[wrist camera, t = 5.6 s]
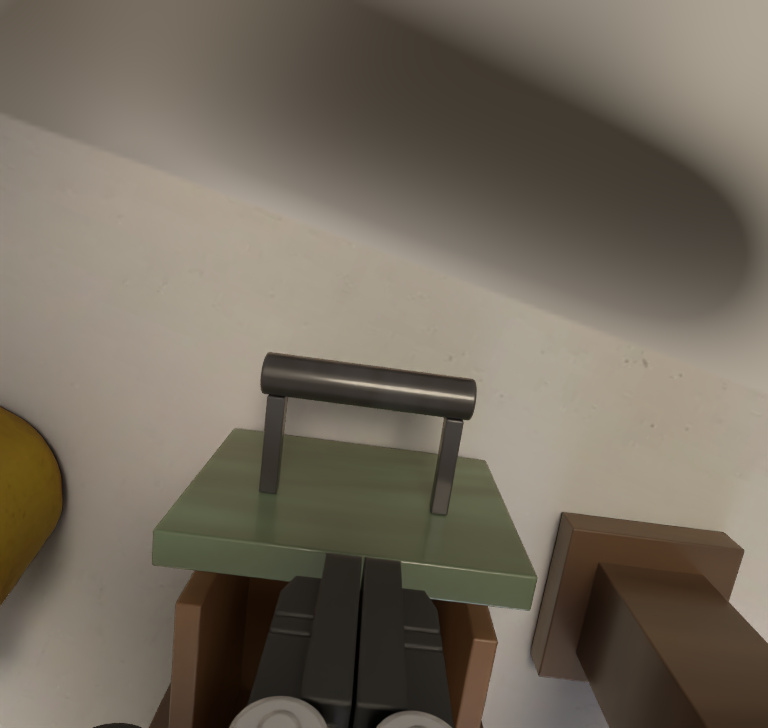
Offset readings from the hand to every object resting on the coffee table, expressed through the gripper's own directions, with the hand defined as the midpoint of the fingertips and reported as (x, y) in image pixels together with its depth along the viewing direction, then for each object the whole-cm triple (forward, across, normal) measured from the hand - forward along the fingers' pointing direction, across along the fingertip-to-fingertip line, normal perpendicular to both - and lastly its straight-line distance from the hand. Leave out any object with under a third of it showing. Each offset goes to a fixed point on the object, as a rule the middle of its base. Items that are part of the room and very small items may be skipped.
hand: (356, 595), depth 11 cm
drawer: (+13, 0, +6) cm, 15 cm away
